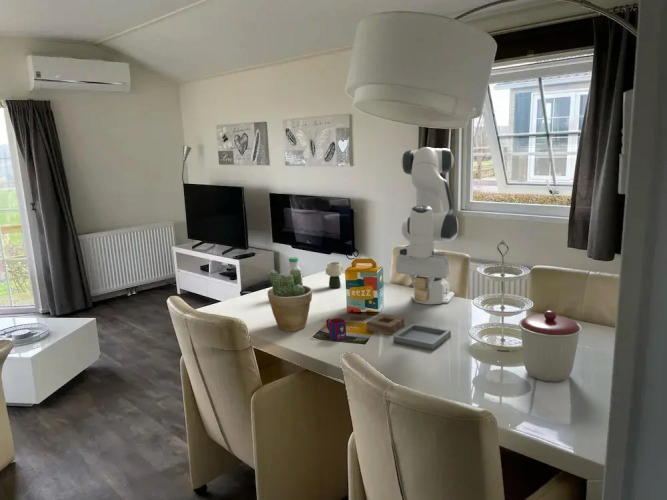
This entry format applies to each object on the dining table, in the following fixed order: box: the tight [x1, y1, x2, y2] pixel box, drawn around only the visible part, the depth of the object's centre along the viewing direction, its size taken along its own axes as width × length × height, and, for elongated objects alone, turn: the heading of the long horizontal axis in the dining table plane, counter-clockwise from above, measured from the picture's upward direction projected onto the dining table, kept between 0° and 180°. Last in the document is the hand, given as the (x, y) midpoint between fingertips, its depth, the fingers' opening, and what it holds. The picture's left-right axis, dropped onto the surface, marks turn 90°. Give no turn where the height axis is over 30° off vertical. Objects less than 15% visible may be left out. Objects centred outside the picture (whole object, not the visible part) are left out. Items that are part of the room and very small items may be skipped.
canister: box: [518, 309, 583, 383], centre depth 163 cm, size 18×18×21 cm
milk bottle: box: [286, 256, 303, 284], centre depth 258 cm, size 8×8×20 cm
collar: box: [366, 313, 406, 336], centre depth 211 cm, size 11×11×4 cm
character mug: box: [325, 261, 344, 288], centre depth 274 cm, size 11×7×13 cm, turn 128°
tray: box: [392, 323, 452, 352], centre depth 198 cm, size 16×16×2 cm
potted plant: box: [266, 268, 313, 332], centre depth 216 cm, size 18×19×25 cm
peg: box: [414, 276, 429, 303], centre depth 194 cm, size 4×4×9 cm
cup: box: [325, 317, 347, 341], centre depth 205 cm, size 7×10×7 cm
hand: (422, 287), depth 194 cm, fingers closed on peg, 4 cm apart
